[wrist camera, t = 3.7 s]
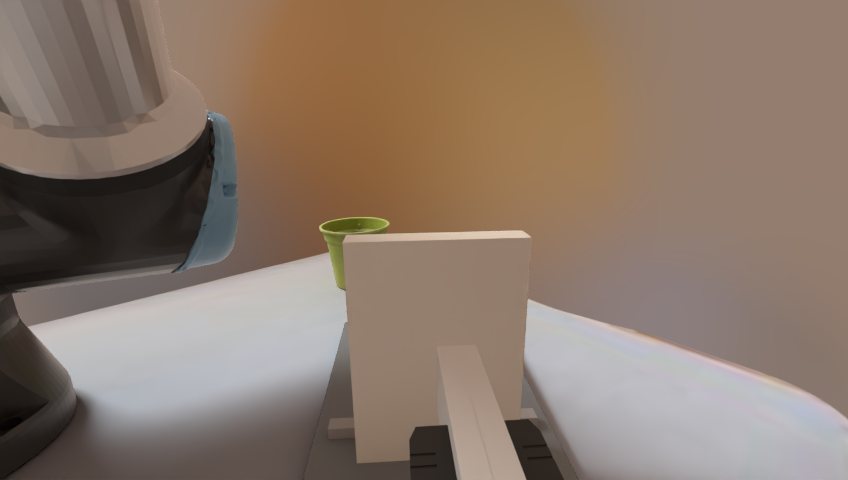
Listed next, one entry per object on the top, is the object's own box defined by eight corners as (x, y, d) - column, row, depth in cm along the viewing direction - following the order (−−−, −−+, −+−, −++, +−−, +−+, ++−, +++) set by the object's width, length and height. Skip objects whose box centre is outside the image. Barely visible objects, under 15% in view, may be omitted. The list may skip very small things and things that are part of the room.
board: (602, 548, 20) (607, 518, 20) (284, 572, 19) (280, 541, 19) (493, 326, 43) (493, 309, 43) (345, 332, 42) (344, 315, 42)
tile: (517, 453, 25) (531, 237, 21) (356, 463, 24) (342, 242, 21) (510, 433, 26) (521, 229, 23) (359, 442, 26) (346, 234, 22)
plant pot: (344, 303, 50) (339, 236, 48) (313, 282, 57) (308, 223, 55) (404, 285, 55) (403, 224, 53) (369, 268, 63) (366, 214, 60)
